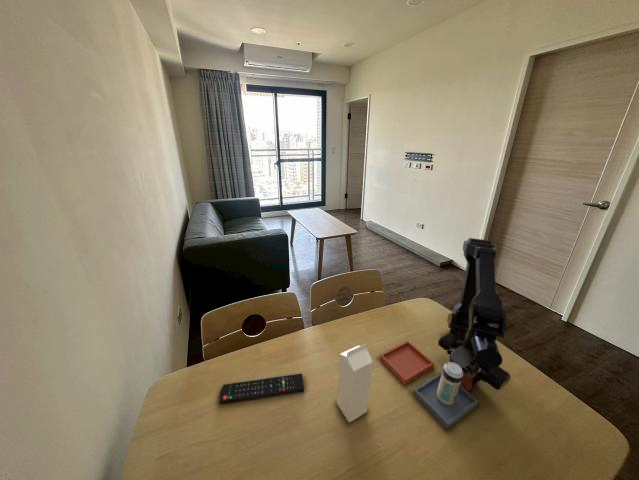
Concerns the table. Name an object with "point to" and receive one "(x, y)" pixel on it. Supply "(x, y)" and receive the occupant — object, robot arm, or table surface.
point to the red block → (467, 380)
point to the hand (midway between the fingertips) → (464, 378)
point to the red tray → (406, 362)
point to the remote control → (261, 388)
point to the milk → (354, 382)
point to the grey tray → (440, 410)
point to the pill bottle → (449, 383)
